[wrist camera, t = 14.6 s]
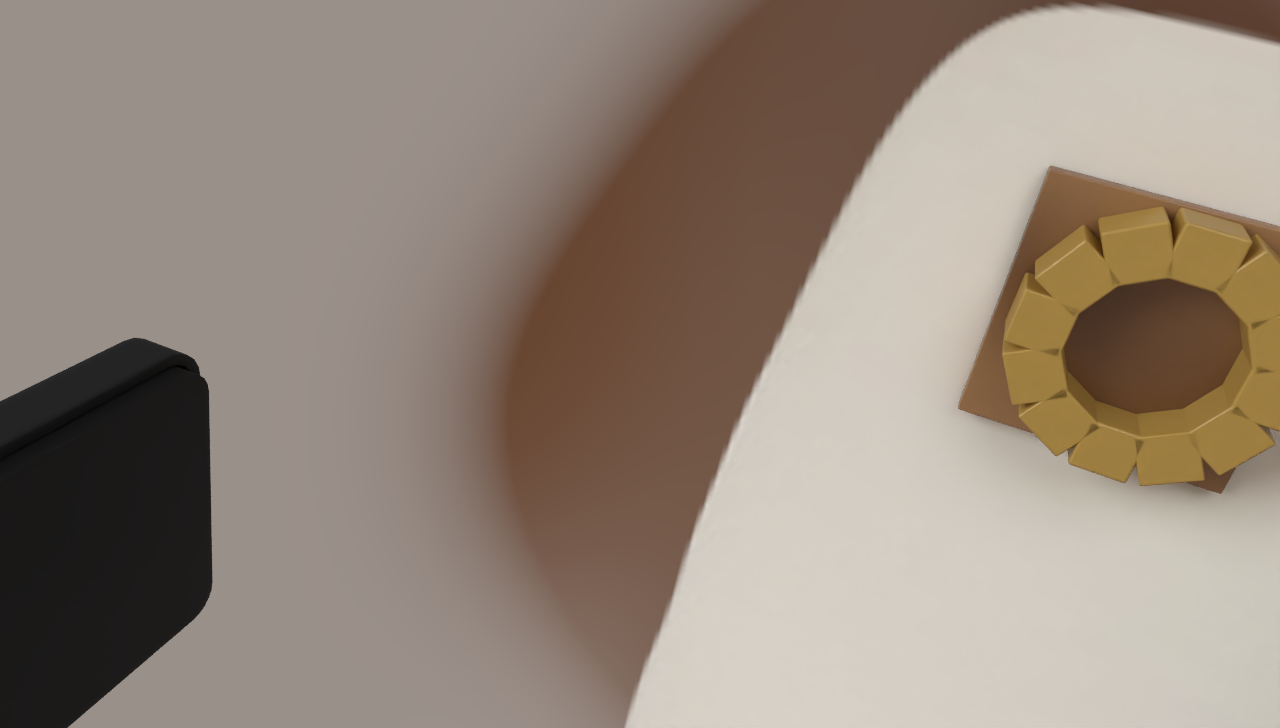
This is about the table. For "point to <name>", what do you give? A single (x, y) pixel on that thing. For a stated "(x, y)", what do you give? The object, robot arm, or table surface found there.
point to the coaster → (1119, 317)
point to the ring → (1128, 254)
